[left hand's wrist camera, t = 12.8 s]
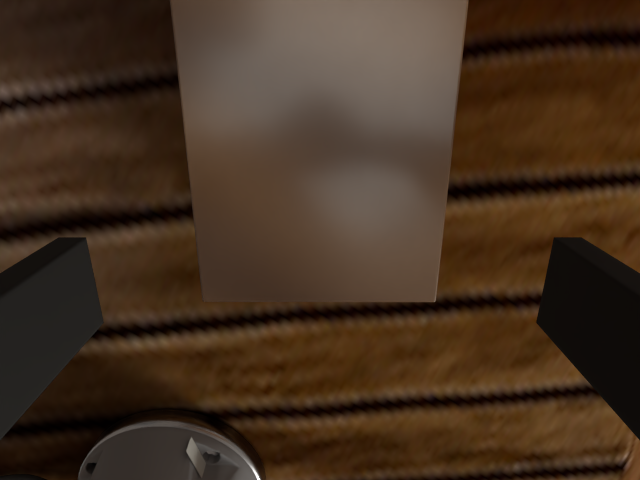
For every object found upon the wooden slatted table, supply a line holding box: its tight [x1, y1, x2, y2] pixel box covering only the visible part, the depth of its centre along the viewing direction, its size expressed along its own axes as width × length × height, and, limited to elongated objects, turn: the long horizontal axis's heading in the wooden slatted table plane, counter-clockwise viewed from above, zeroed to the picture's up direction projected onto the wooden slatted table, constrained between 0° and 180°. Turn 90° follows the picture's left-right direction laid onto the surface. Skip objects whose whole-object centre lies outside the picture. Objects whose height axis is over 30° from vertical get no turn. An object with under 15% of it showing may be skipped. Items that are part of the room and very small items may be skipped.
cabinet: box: [170, 0, 468, 302], centre depth 21 cm, size 19×11×10 cm, turn 0°
